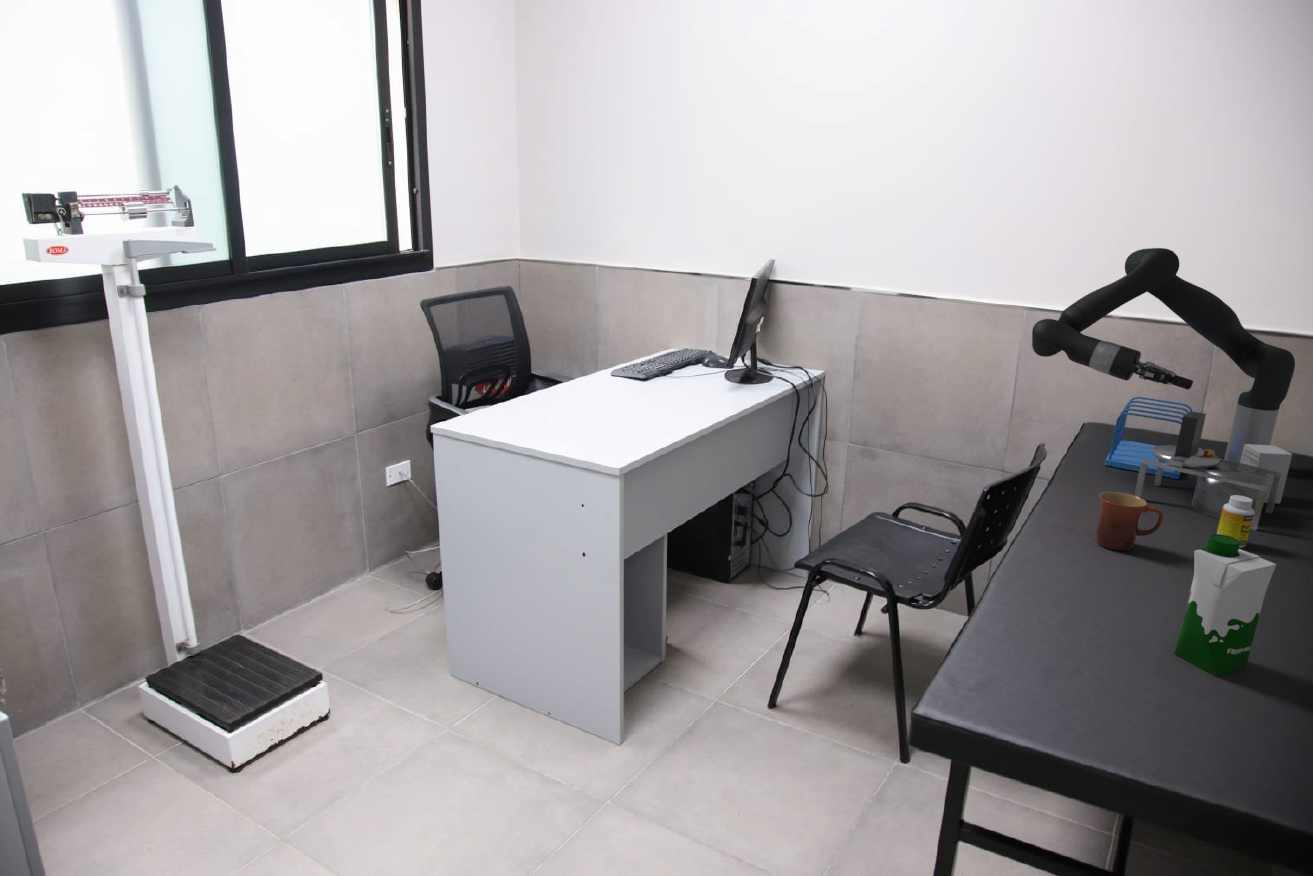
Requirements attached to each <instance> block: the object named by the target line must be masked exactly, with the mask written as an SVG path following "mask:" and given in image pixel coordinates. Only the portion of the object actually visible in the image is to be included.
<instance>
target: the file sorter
mask: <svg viewBox="0 0 1313 876" xmlns="http://www.w3.org/2000/svg"><path fill="white" fill-rule="evenodd" d="M1142 400H1144V401H1142ZM1145 400H1147V401H1145ZM1148 401H1149V402H1148ZM1150 401H1152V402H1150ZM1156 402H1157V403H1156ZM1158 402H1159V403H1158ZM1133 403H1134V404H1133ZM1136 403H1137V404H1136ZM1162 403H1165V404H1162ZM1169 404H1171V405H1169ZM1176 405H1178V406H1176ZM1154 406H1158V407H1154ZM1181 406H1184V407H1181ZM1132 407H1136V408H1132ZM1161 407H1164V408H1161ZM1138 408H1141V409H1138ZM1166 408H1167V409H1166ZM1169 408H1170V409H1169ZM1186 408H1187V409H1186ZM1145 409H1149V410H1145ZM1173 409H1177V410H1173ZM1152 410H1153V411H1152ZM1154 410H1156V411H1154ZM1180 410H1182V411H1180ZM1130 411H1133V412H1130ZM1159 411H1161V412H1159ZM1183 411H1184V412H1183ZM1191 411H1193V409H1192V407H1191V406H1190V405H1188V404H1187V403H1183V402H1177V401H1171V400H1164V399H1159V398H1158V399H1157V398H1152V397H1144V396H1133V397H1132V398H1131V399H1130V400H1129V401H1128V402H1127V403H1126V405H1125V406H1124V407H1123V410H1122V411H1121V412H1120V414H1119V416H1118V417H1117V419H1116V422H1115V426H1114V429H1113V436H1112V439H1111V445H1110V451H1109V453H1108V454H1107V457H1106V458H1105V461H1104V466H1107V467H1111V466H1112V468H1116V469H1117V468H1118V469H1124V470H1128V471H1135V472H1139V470H1140V465H1141V460H1142V459H1147V460H1151V461H1156V462H1158V461H1159V459H1158V458H1156V457H1154V456H1153V454H1152V453H1153V449H1154V447H1156V446H1157V445H1155V444H1147V443H1143V442H1139V441H1138V442H1136V441H1132V440H1131V441H1130V440H1124V439H1123V437H1124V432H1125V427H1126V422H1127V419H1128V418H1127V417H1128V415H1129V416H1134V417H1143V418H1147V419H1155V420H1159V421H1165V422H1172V423H1177V424H1179V425H1181V424H1182V419H1183V416H1184V415H1186V414H1188V413H1190V412H1191ZM1135 412H1139V413H1135ZM1163 412H1164V413H1163ZM1165 412H1167V413H1165ZM1168 412H1169V413H1168ZM1142 413H1145V414H1142ZM1171 413H1174V414H1171ZM1147 414H1148V415H1147ZM1149 414H1151V415H1149ZM1152 414H1153V415H1152ZM1176 414H1177V415H1176ZM1178 414H1179V415H1178ZM1155 415H1157V416H1155ZM1158 415H1159V416H1158ZM1181 415H1182V416H1181ZM1160 416H1164V417H1160ZM1167 417H1170V418H1167ZM1171 418H1175V419H1171ZM1177 419H1179V420H1177ZM1180 420H1181V421H1180ZM1165 464H1168V462H1165ZM1173 466H1174V465H1173ZM1156 471H1157V466H1153V465H1149V464H1148V466H1147V470H1146V474H1148V475H1149V474H1151V475H1156ZM1181 473H1182V472H1179V471H1175V470H1171V469H1166V468H1164V470H1163V474H1162V477H1163V476H1164V477H1163V478H1168V477H1169V479H1173V480H1179V479H1180V476H1181Z"/></svg>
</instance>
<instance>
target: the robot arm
mask: <svg viewBox="0 0 1313 876" xmlns="http://www.w3.org/2000/svg"><path fill="white" fill-rule="evenodd" d="M1179 269H1180V259H1179V256H1178V255H1177V254H1176V253H1175V252H1174V251H1173V250H1172V249H1169V248H1166V247H1165V248H1164V247H1152V248H1143V249H1138V250H1135V251H1133V252H1132V253H1130V254H1129V255H1128V257H1127V258H1126V259H1125V263H1124V271H1125V274H1126V275H1124V276H1123V277H1121V278H1119V279H1117V280H1115V281H1113V282H1111V283H1109V284H1106V285H1104V286H1102V287H1100V288H1097V289H1096V290H1093V291H1091V292H1089V293H1088V294H1086V295H1084V296H1082V297H1081V298H1079V299H1077V300H1076V301H1075V302H1074V303H1072V304H1071V305H1069V306H1068V307H1066V308H1065V309H1063V311H1062V312H1061V313H1060V316H1059V319H1054V318H1044V319H1040V320H1038V321H1037V322H1036V323H1034V325H1033V327H1032V331H1031V345H1032V346H1031V347H1032V349H1033V350H1032V351H1033V352H1034V353H1035V354H1036V355H1038V356H1039V357H1042V358H1043V357H1044V358H1048V357H1052V356H1055V355H1057V354H1058V353H1060V352H1064V353H1065V354H1066V357H1067V359H1068V360H1070V361H1071V362H1073V363H1076V364H1078V365H1081V366H1086V367H1088V368H1091V369H1093V370H1095V371H1097V372H1098V373H1103V374H1105V375H1108V376H1111V377H1114V378H1117V379H1120V380H1122V381H1129V380H1131V378H1132V377H1133V375H1134V374H1135V375H1137V376H1138V378H1139V379H1142V380H1144V381H1145V380H1148V381H1151V382H1154V383H1157V384H1163V385H1169V386H1171V385H1173V386H1175V387H1178V388H1182V389H1184V390H1190V389H1192V386H1193V384H1194V380H1192V379H1189V378H1186V377H1184V376H1181V375H1178V374H1177V373H1175V372H1174V371H1171V370H1169V369H1167V368H1166V367H1163V366H1160V365H1158V364H1156V363H1155V362H1153V361H1152V362H1150V361H1146V362H1141V361H1140V359H1141V356H1142V353H1141V351H1140V350H1138V349H1137V350H1136V349H1134V348H1130V347H1128V346H1124V345H1122V344H1119V343H1115V342H1112V341H1105V340H1102V339H1099V338H1097V337H1096V338H1095V337H1092V336H1091V335H1090V336H1089V335H1086V334H1083V333H1082V332H1083V331H1085V330H1086V329H1088V328H1089V327H1091V326H1093V325H1094V324H1095V323H1097V322H1098V321H1100V320H1101V319H1103V318H1105V317H1106V316H1108V315H1109V314H1110V313H1112V312H1114V311H1115V310H1117V309H1119V308H1120V307H1122V306H1123V305H1125V304H1127V303H1129V302H1130V301H1132V300H1134V299H1136V298H1138V297H1141V295H1144V294H1145V293H1148V294H1150V295H1152V296H1153V297H1154V298H1156V299H1158V300H1159V301H1160V302H1161V303H1163V304H1164V306H1166V307H1167V308H1169V310H1170V311H1171V312H1173V313H1174V314H1175V315H1177V316H1178V318H1180V319H1181V320H1182V321H1183V322H1185V324H1187V325H1188V326H1189V327H1190V328H1191V329H1193V330H1194V331H1195V332H1196V333H1197V334H1199V335H1200V336H1202V337H1203V338H1204V339H1206V340H1207V341H1208V342H1210V343H1211V344H1212V345H1214V346H1215V347H1217V348H1218V349H1220V350H1221V351H1222V352H1224V354H1226V355H1227V356H1228V357H1229V359H1231V361H1233V362H1234V363H1235V365H1236V366H1237V367H1238V368H1239V369H1240V370H1241V371H1242V372H1243V373H1244V374H1245V375H1246V376H1248V377H1250V378H1252V379H1253V384H1252V386H1251V388H1250V390H1248V391H1243V392H1241V393H1240V394H1239V396H1238V400H1237V403H1236V408H1235V412H1234V417H1233V420H1232V426H1231V430H1230V434H1229V437H1228V442H1227V446H1226V449H1225V450H1226V451H1225V455H1224V460H1229V461H1233V462H1238V463H1240V461H1241V457H1242V452H1243V448H1244V444H1253V445H1272V444H1271V443H1272V439H1273V435H1274V431H1275V428H1276V423H1277V419H1278V415H1279V412H1280V407H1281V405H1282V403H1283V401H1284V400H1285V399H1286V397H1287V396H1288V393H1289V389H1290V386H1291V382H1292V380H1293V376H1294V373H1295V367H1296V359H1295V356H1294V354H1293V353H1292V352H1291V351H1289V350H1287V349H1286V348H1283V347H1278V346H1275V345H1272V344H1268V343H1267V342H1264V341H1262V340H1260V339H1259V338H1257V337H1256V336H1255V335H1253V334H1251V333H1250V332H1248V330H1246V328H1244V326H1243V325H1242V323H1241V321H1240V319H1239V317H1238V315H1237V313H1236V312H1235V311H1234V310H1233V308H1231V307H1230V306H1229V304H1227V303H1226V302H1225V301H1223V300H1222V299H1221V298H1219V297H1218V296H1217V295H1215V293H1214V294H1213V292H1211V291H1209V290H1207V289H1205V288H1203V287H1200V286H1198V285H1196V284H1193V283H1192V282H1190V281H1187V280H1185V279H1183V278H1181V277H1180V276H1178V275H1177V274H1178V271H1179Z"/></svg>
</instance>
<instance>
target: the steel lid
mask: <svg viewBox="0 0 1313 876" xmlns="http://www.w3.org/2000/svg"><path fill="white" fill-rule="evenodd" d="M1185 414H1186V415H1182V417H1183V419H1182V420H1181V422H1182V424H1180V430H1179V434H1178V437H1177V443H1176V445H1174V444H1173V445H1172V444H1164V445H1155V446H1156V447H1154V449H1153V453H1152V454H1153V456H1154V457H1156V458H1158V459H1160V460H1162V461H1165V462H1168V464H1169V465H1174V466H1178V467H1182V468H1184V467H1187V468H1199V469H1200V468H1213V467H1217V466H1218V465H1219V461H1220V459H1221V458H1220V457H1219V456H1218V455H1216V454H1215V452H1216V451H1215V450H1213V449H1209V448H1208V449H1207V448H1205V449H1204V450H1203V448H1201V447H1200V443H1201V438H1202V434H1203V430H1204V429H1203V428H1204V426H1205V425H1204V423H1205V421H1206V417H1207V416H1206V415H1207V413H1203V412H1198V411H1194V410H1192V411H1191V412H1190V411H1189V413H1188V414H1187V413H1185Z"/></svg>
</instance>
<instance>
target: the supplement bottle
mask: <svg viewBox="0 0 1313 876" xmlns="http://www.w3.org/2000/svg"><path fill="white" fill-rule="evenodd" d="M1252 502H1253V500H1252V499H1250V498H1248V497H1245V496H1240V495H1232V496H1230V500H1229V503H1227V504H1225V505H1224V506H1223V509H1222V513H1221V518H1220V519H1219V522H1218V527H1217V530H1216V534H1221V535H1226V536H1230V537H1233V538H1235V539H1237V540H1239V541H1240V545H1239V549H1241V548H1242V549H1243V548H1245V547H1246V546H1247V543H1248V540H1249V536H1250V532H1251V525H1252V521H1253V517H1254V510H1253V509H1252V508H1251V506H1252Z"/></svg>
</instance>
